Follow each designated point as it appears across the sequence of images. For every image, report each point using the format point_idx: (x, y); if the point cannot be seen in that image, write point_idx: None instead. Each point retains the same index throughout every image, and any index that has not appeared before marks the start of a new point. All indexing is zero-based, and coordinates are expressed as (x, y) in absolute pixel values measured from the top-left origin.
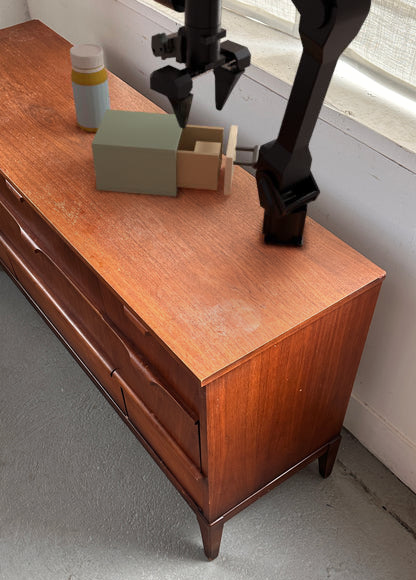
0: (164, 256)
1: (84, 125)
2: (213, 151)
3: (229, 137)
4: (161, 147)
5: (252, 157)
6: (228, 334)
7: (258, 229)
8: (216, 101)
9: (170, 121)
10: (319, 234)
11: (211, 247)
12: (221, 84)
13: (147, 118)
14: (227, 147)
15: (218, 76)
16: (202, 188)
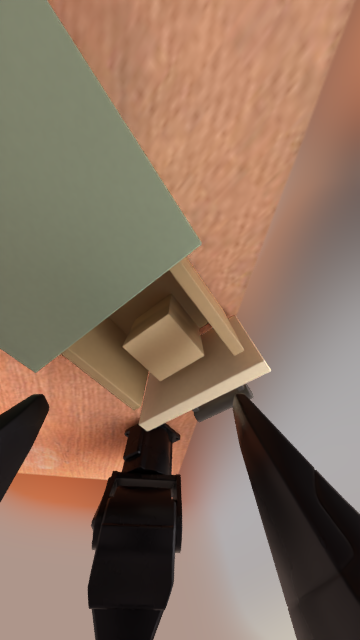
0: (12, 385)
1: None
2: (163, 367)
3: (207, 390)
4: (2, 341)
5: (214, 402)
6: (23, 462)
7: (139, 415)
8: (243, 423)
9: (120, 238)
10: (181, 447)
11: (72, 405)
12: (295, 552)
13: (40, 121)
14: (169, 409)
15: (347, 632)
16: None
